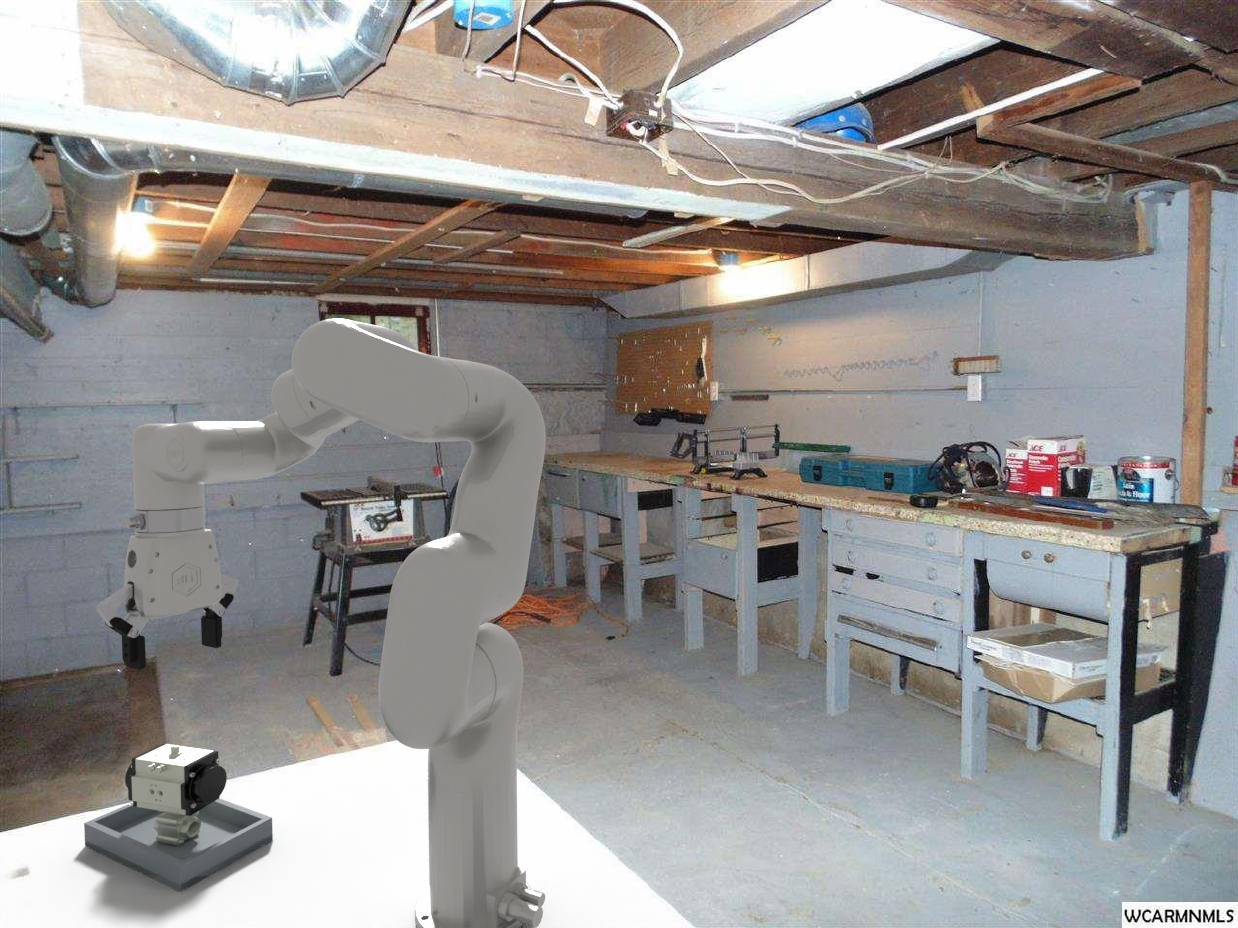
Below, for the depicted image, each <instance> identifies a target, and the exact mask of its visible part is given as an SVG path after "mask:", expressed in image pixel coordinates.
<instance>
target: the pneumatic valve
mask: <svg viewBox="0 0 1238 928" xmlns="http://www.w3.org/2000/svg"><path fill="white" fill-rule="evenodd" d="M220 762H221V761H220V758H219V750H211V749H203V748H198V747H197V748H196V747H190V746H184V745H177V744H170V743H161V744H160V745H156V747H155V746H154V747H153V748H151V749H148V750H146V751H145V752H142V753H139V754H138V755H136V756H134V757H131V764H130V765H129V766H128V768H127V770H126V771H125V777H124V778H125V779H124V783H125V786H126V789H127V795H128V796H127V799H128V801H130V802H131V801H132V803H133V806H135V807H141V808H147V809H152V810H158V811H159V812H162V811H164V813H162V814H160V815H158V816H157V817H156V818H155V823H154V829H155V830H156V831H157V832H158V835H157V836H156V840H157V842H160V843H166V844H171V845H176V846H179V845H181V844H183V843H184V840H187V839H188V838H192V837H194V836H195V835H196V834H198V833H199V832H200V827H201V821H200V820H199V819H198V818H197V815H198V814H199V810H201V809H203V808H204V807H206V806H207V805H209V804H211V803H212V802H214V801H216V800H217V799H219V798H220V796H221V795H222V793H223V791H224V789H225V788H226V784H227V779H228V778H227V777H228V774H227V772H226V769H225V768H224V767H223V766H220V765H219V764H220ZM220 799H221V798H220Z"/></svg>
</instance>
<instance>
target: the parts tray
mask: <svg viewBox="0 0 1238 928" xmlns="http://www.w3.org/2000/svg"><path fill="white" fill-rule="evenodd" d="M129 804H131V805H129ZM162 813H164V811H162V812H159V811H158V810H152V809H147V808H141V807H135V806H133V802H130V803H127V804H126V805H123V806H121V807H119V808H116V809H114V810H112V811H110V812H107V813H105V814H103V815H99V816H97V817H96V818H93V819H91V820H88V821H86V822H84V823H83V825H84V846H85V847H86V848H88V849H90V850H92V851H94V852H96V853H98V854H101V855H102V856H105V855H106V856H105V857H107V858H109V859H111V860H113V861H115V862H118V863H119V864H122V865H123V866H126V867H128V868H130V869H133V870H134V871H135V872H136V871H137V872H138V873H141V874H142V875H145V876H146V877H149V878H151V879H152V880H155V881H157V882H159V883H160V884H163V885H166V886H168V887H170V888H172V889H174V890H175V891H178V892H181V893H182V892H183V891H185V890H186V889H188V888H190V887H192V886H193V885H195V884H197V883H199V882H201V881H202V880H204V879H206V878H208V877H210V876H211V875H213V874H215V873H217V872H218V871H220V870H222V869H224V868H226V867H228V866H230V865H231V864H233V863H235V862H237V861H238V860H240V859H242V858H243V857H246V856H247V855H249V854H251V853H253V852H255V851H256V850H258V849H260V848H262V847H263V846H265V845H267V844H269V843H270V842H273V841H274V839H273V837H274V836H273V835H274V834H273V817H272V816H268V815H267V814H263V813H261V812H258V811H255V810H253V809H250V808H247V807H244V806H242V805H239V804H236V803H233V802H230V801H228V800H225V799H222V798H219V799H217V800H216V801H214V802H212V803H211V804H209V805H207V806H206V807H204V808H203V809H201V810H199V814H198V815H197V818H198V819H199V820H200V821H201V827H200V832H199V833H198V834H196V835H195V836H194V837H192V838H188V839H187V840H184V843H183V844H181V845H179V846H176V845H171V844H166V843H160V842H157V840H156V836H157V835H158V832H157V831H156V830H155V829H154V823H155V818H156V817H157V816H158V815H160V814H162Z"/></svg>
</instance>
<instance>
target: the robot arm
mask: <svg viewBox="0 0 1238 928" xmlns="http://www.w3.org/2000/svg"><path fill="white" fill-rule="evenodd" d="M271 387H272V388H271V393H270V394H271V395H270V396H271V405H272V408H273V410H274V412H273V413H271V414H269V415H267V416H264V417H262V418H260V419H256V420H254V421H240V420H239V421H237V420H235V421H234V420H233V421H227V420H226V421H225V420H223V421H222V420H221V421H219V420H215V421H212V420H211V421H204V420H203V421H202V420H201V421H197V420H196V421H195V420H194V421H187V422H186V421H185V422H181V423H145V424H141V425H138V426H137V427H136V428H134V430H133V432H132V436H131V437H132V438H131V447H132V448H131V450H132V453H131V454H132V473H133V474H132V475H133V476H132V480H133V500H134V501H133V502H134V506H133V507H134V510H133V511H132V513H133V514H132V515H131V516H127V517H125V518H124V523H123V524H124V527H125V528H126V529H133V531H134V532H135V533H134V534H135V535H130V538H129V542H128V545H127V551H126V557H125V558H126V559H125V562H124V563H125V564H124V565H125V566H124V577H123V578H124V579H123V580H124V581H123V587H121V588H119V589H118V590H117V591H115V592H114V593H113V594H111V595H109V596H108V597H107V598H105V599H103V600H102V601H100V602H99V603H98V604H97V605H96V606H95V609H96V612H97V613H98V615H99V616H100V617H101V619H102V620H103V621H104V624H105V626H106V627H108V628H109V629H111V630H113V631H114V632H115V633H116V635H119V636H121V652H122V653H121V655H122V657H121V658H122V661H123V663H124V665H125V667H127V668H131V669H134V670H139V671H141V670H143V669H145V668H146V666H147V659H146V657H147V656H146V638H145V636H144V635H141V632H142V631H143V629H144V628H146V627H145V626H146V625H147V624H148V622H149V621H150V620H151V619H153V620H154V619H163V618H168V617H171V616H176V615H182V614H185V613H189V612H193V611H198V610H202V611H203V613H204V614H203V615H201V618H200V623H201V624H200V626H201V627H200V631H201V645H202V646H205V647H209V648H213V649H219V648H221V647H222V638H223V620H222V619H223V617H225V616H226V614H227V609H228V607H229V606H230V605H231V603H232V602H233V600H234V595H235V593H236V591H237V589H238V586H239V584H240V579H238V578H236V577H234V576H231V575H228V574H226V573H225V574H224V573H222V572H221V565H220V564H221V563H220V560H219V559H220V558H219V554H218V549H217V548H218V547H217V544H216V539H215V537H214V534H213V530H212V529H211V528H210V529H209V528H206V516H205V514H206V513H205V512H206V510H205V487H204V486H205V485H209V484H211V485H212V484H219V483H220V484H222V483H228V482H231V483H232V482H241V481H254V480H261V479H264V478H265V479H266V478H269V477H271V476H274V475H277V474H279V473H281V472H283V471H285V470H288V469H290V468H292V467H293V466H296V465H298V464H300V463H302V462H304V461H305V460H307V459H309V458H311V457H313V455H314V454H316V453H317V451H318V450H319V449H320V447H321V446H322V445H323V444H324V442H325V439H326V437H328V436H330V435H332V434H334V433H337V432H338V431H340V430H342V429H345V428H346V427H348V426H350V425H353V424H354V423H356V422H358V421H362V422H364V423H366V424H368V425H371V426H373V427H376V428H377V429H380V430H382V431H384V432H387V433H388V434H392V435H394V436H397V437H400V438H402V439H404V440H405V439H406V440H408V441H413V442H418V443H419V442H420V443H446V442H448V443H449V442H455V443H456V442H468V443H469V444H470V446H471V452H470V454H469V457H468V459H467V461H466V463H465V465H464V466H463V469H462V471H461V474H460V477H459V480H458V483H457V486H456V492H455V503H454V510H453V516H452V520H451V523H450V528H449V532H448V534H447V535H446V536H445V537H441V538H437V539H434V540H431V541H429V542H426V543H424V544H422V545H420V546H418V547H417V548H416V549H414V550H413V551H412V552H411V553H409V554H408V556H407V557H406V558H405V560H404V561H402V563H401V565H400V567H399V568H398V571H397V572H396V575H395V577H394V580H393V582H392V586H391V589H390V595H389V601H388V606H387V607H388V608H387V614H386V622H385V631H384V637H383V645H382V650H381V651H382V652H381V659H380V660H381V661H380V668H379V675H378V686H377V690H378V691H377V695H378V698H377V699H378V706H379V711H380V714H381V718H382V721H383V724H384V725H385V727H386V729H387V730H388V731H389V733H390V734H391V736H392V737H393V738H394V739H395V740H396V741H397V742H399V743H400V744H402V745H404V746H406V747H408V748H410V749H415V750H428V755H427V798H428V799H427V801H428V803H427V805H428V808H427V810H428V812H427V813H428V819H427V820H428V865H429V866H428V867H429V868H428V869H429V871H428V873H429V875H428V876H429V877H428V879H429V885H428V886H427V887H426V888H425V889H424V890H423V891H422V893H421V894H420V895H419V896H418V898H417V901H416V903H415V907H414V921H415V926H416V928H521V927H522V926H523V925H526V926H529V927H531V928H538V927H539V925H540V924H541V922H542V919H543V913H544V910H543V907H542V906H543V905H544V903H545V901H546V894H545V893H544V892H541V891H538V890H535V889H531V888H530V885H529V883H528V882H527V869H526V868H522V867H520V866H518V863H519V862H518V861H519V860H518V779H517V778H518V773H517V772H518V725H519V715H520V707H521V702H522V701H521V700H522V693H523V686H524V685H523V684H524V662H523V661H524V660H523V655H522V652H521V649H520V647H519V645H518V643H517V641H516V639H515V638H514V637H513V635H511V634H510V632H508V630H506V629H505V628H504V627H501V626H499V625H498V624H495V623H492V622H490V621H492V620H493V619H495V618H498V617H499V616H501V615H503V614H505V613H507V612H508V611H509V610H511V609H512V608H513V607H514V606H515V605H516V604H517V603H518V602H519V600H520V599H521V598H522V595H523V594H524V590H525V586H526V582H527V576H528V569H529V561H530V554H531V547H532V541H533V535H534V534H533V533H534V527H535V521H536V511H537V503H538V495H539V489H540V482H541V478H542V473H543V468H544V461H545V453H546V441H547V438H546V434H547V433H546V425H545V420H544V416H543V412H542V410H541V408H540V406H539V404H538V402H537V400H536V398H535V397H534V395H533V394H532V393H531V392H530V390H529V389H528V388H527V386H526V385H524V384H523V383H522V382H521V381H519V380H518V379H517V378H516V377H514V376H513V375H511V374H510V373H508V372H506V371H504V370H502V369H500V368H498V367H495V366H493V365H489V364H486V363H481V362H476V361H471V360H466V359H455V358H450V357H443V356H439V355H437V356H436V355H431V354H428V353H425V352H421V351H419V350H418V349H417V348H416V347H415V344H414V343H412V341H411V340H410V339H409V338H407V337H406V336H405V335H403V334H402V333H400V332H398V331H396V330H395V329H391V328H388V327H385V326H380V325H376V324H371V323H370V324H369V323H366V322H360V321H356V320H351V319H346V318H327V319H323V320H321V321H320V320H319V321H317V322H316V323H313V324H312V325H310V326H309V327H308V328H307V329H305V330H304V331H303V332H302V333H301V335H300V336H299V337H298V339H297V340H296V342H295V343H294V347H293V350H292V353H291V368H290V369H288V370H287V371H285V372H283V373H281V374H280V375H279V376H278V377H277V378H276V379H275V381H274V383H273V384H272V386H271ZM122 605H124V609H125V612H126V613H127V614H126V615H125V617H124V618H122V617H121V616H120V615H119V613H118V608H119V607H121V606H122Z"/></svg>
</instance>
